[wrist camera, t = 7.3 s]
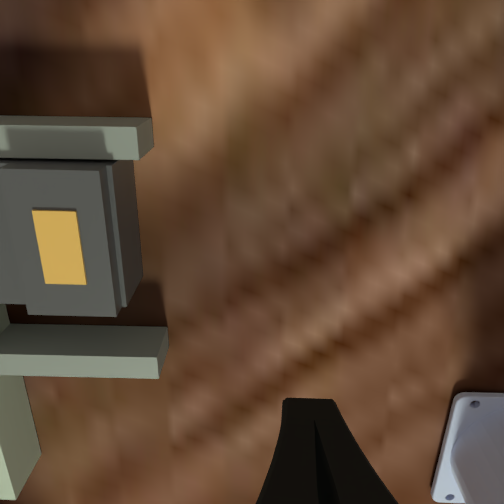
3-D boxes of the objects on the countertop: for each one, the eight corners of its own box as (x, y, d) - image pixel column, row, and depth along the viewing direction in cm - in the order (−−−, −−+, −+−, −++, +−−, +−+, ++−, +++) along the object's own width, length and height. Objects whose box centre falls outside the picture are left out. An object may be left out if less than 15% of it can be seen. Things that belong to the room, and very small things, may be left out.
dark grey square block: (133, 148, 20) (103, 171, 16) (144, 272, 22) (120, 318, 18) (-28, 144, 20) (-96, 167, 16) (0, 269, 22) (-53, 314, 18)
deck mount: (151, 117, 19) (129, 130, 16) (177, 457, 26) (165, 511, 23) (-183, 112, 19) (-271, 124, 16) (-60, 451, 27) (-103, 503, 24)
